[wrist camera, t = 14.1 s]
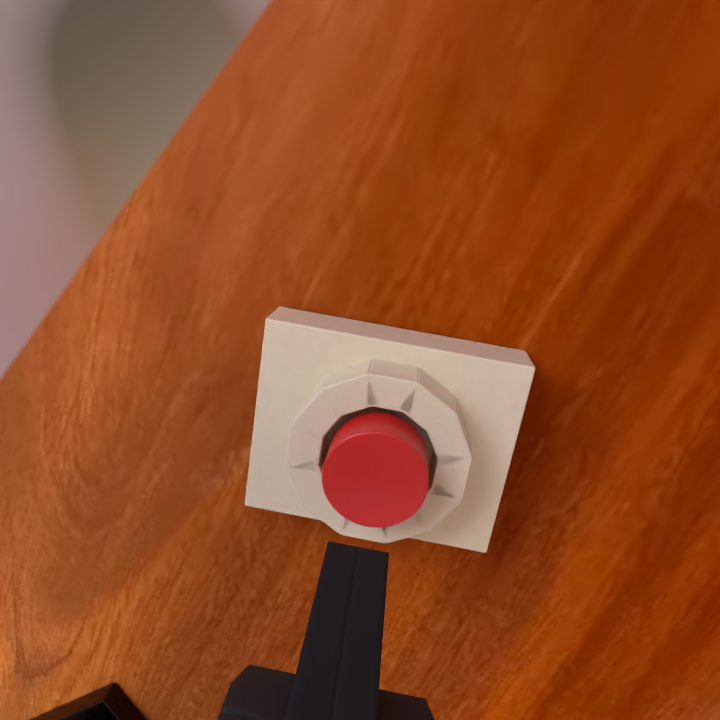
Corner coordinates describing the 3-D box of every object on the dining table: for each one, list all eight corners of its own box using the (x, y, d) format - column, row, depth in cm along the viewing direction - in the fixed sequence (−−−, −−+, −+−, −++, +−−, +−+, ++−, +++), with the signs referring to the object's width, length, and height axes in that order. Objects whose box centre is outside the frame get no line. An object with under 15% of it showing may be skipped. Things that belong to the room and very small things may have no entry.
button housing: (258, 479, 26) (230, 531, 22) (279, 305, 24) (251, 330, 20) (481, 523, 26) (491, 583, 22) (525, 350, 23) (546, 384, 20)
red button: (322, 491, 22) (314, 517, 20) (336, 403, 21) (329, 422, 19) (417, 510, 22) (417, 537, 20) (437, 422, 21) (438, 443, 19)
